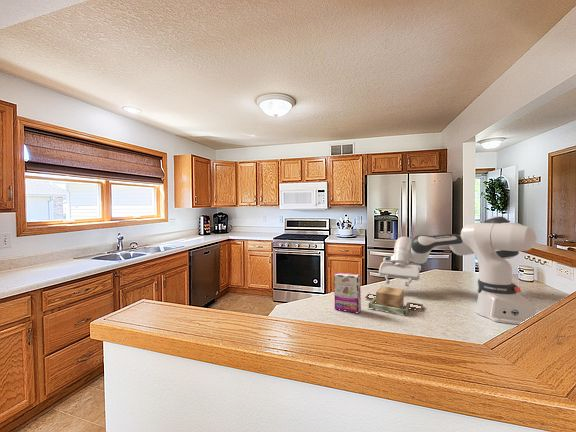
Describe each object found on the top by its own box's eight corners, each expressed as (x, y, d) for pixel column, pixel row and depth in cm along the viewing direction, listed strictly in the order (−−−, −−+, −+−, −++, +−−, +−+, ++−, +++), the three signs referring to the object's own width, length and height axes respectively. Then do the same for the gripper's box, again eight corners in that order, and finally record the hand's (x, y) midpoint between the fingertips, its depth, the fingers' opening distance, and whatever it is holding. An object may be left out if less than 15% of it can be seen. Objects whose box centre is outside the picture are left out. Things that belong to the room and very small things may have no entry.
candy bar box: (361, 309, 124) (360, 274, 123) (358, 313, 120) (358, 277, 119) (337, 306, 129) (337, 272, 129) (334, 309, 125) (333, 274, 124)
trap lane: (423, 304, 128) (423, 299, 128) (418, 318, 114) (418, 312, 114) (368, 295, 142) (368, 291, 142) (357, 307, 128) (357, 301, 127)
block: (403, 306, 128) (403, 289, 128) (399, 313, 120) (399, 295, 119) (381, 302, 133) (381, 286, 133) (376, 309, 125) (376, 292, 125)
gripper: (422, 267, 145) (419, 290, 137) (382, 263, 156) (378, 285, 148) (420, 260, 141) (418, 284, 133) (380, 257, 152) (376, 278, 144)
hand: (397, 284), depth 141 cm, fingers open, 8 cm apart
